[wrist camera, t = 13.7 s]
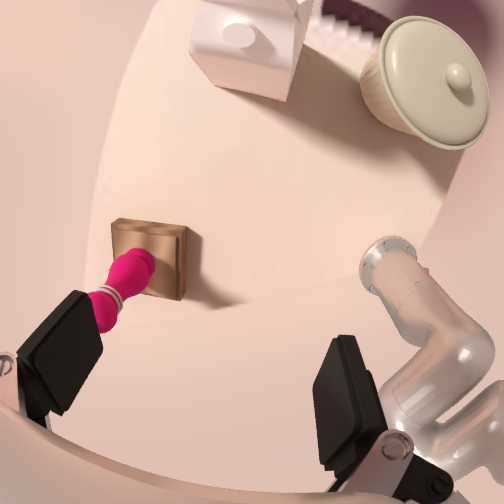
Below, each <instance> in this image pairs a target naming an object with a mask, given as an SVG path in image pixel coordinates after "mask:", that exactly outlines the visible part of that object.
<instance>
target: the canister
mask: <svg viewBox="0 0 504 504" xmlns="http://www.w3.org/2000/svg"><path fill="white" fill-rule="evenodd" d="M360 88H361V94H362V97H363V100H364V102H365V105H366V106H367V107H368V110H370V111H371V113H372V115H374V116H375V117H376V118H377V119H378V120H379V121H381V122H382V123H383V124H385V125H387V126H388V127H390V128H393V129H396V130H398V131H401V132H404V133H407V134H411V135H414V136H417V137H420V138H421V139H423V140H424V141H425V142H427V143H429V144H431V145H433V146H435V147H437V148H440V149H444V150H462V149H465V148H467V147H469V146H471V145H473V144H474V143H475V142H476V141H477V140H478V139H479V138H480V137H481V135H482V134H483V132H484V130H485V128H486V125H487V123H488V118H489V113H490V94H489V88H488V83H487V80H486V77H485V74H484V71H483V69H482V67H481V65H480V63H479V61H478V59H477V57H476V56H475V54H474V53H473V51H472V50H471V48H470V47H469V46H468V45H467V44H466V42H465V41H464V40H463V39H462V38H461V37H460V36H459V35H457V34H456V33H455V32H454V31H452V30H451V29H450V28H449V27H447V26H445V25H444V24H442V23H440V22H438V21H435V20H433V19H430V18H427V17H421V16H408V17H404V18H401V19H399V20H397V21H395V22H394V23H393V24H391V25H390V26H389V27H388V29H387V30H386V31H385V33H384V35H383V37H382V40H381V43H380V45H379V47H378V48H377V49H376V50H375V51H374V53H373V54H372V55H371V56H370V58H369V59H368V61H367V62H366V64H365V66H364V67H363V69H362V73H361V78H360Z"/></svg>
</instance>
